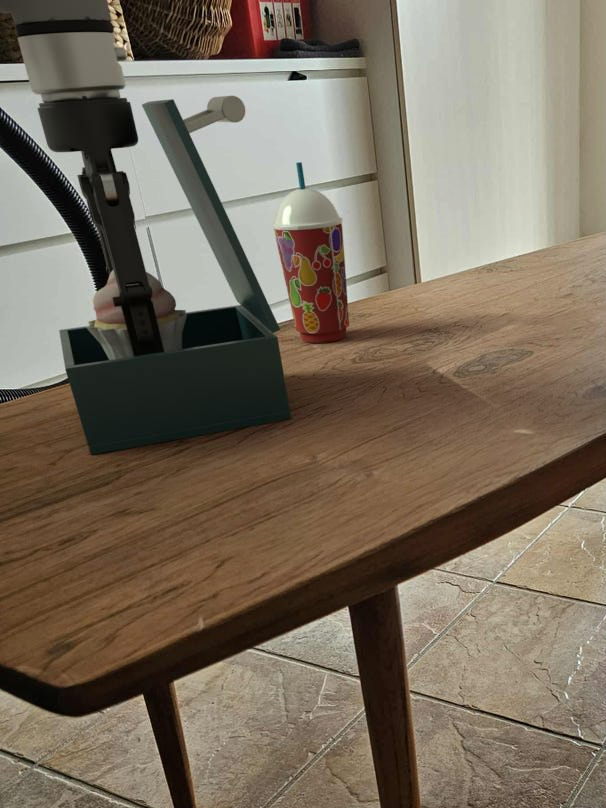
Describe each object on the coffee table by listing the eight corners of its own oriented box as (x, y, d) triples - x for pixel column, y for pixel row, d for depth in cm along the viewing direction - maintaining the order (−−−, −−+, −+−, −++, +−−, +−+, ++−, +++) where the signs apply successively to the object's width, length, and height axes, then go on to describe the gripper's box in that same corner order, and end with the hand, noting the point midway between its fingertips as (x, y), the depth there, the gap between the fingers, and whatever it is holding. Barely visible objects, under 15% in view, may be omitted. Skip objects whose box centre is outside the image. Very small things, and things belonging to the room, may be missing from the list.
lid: (164, 102, 71) (241, 70, 72) (141, 104, 85) (206, 77, 86) (272, 333, 83) (337, 302, 84) (237, 301, 97) (293, 275, 98)
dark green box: (90, 455, 81) (65, 368, 77) (81, 405, 95) (58, 329, 91) (291, 418, 87) (277, 336, 83) (254, 376, 101) (241, 304, 97)
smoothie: (369, 333, 116) (349, 158, 106) (328, 348, 110) (301, 165, 100) (320, 328, 120) (296, 159, 110) (278, 343, 114) (247, 166, 104)
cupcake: (151, 386, 83) (122, 270, 78) (79, 378, 87) (47, 267, 81) (218, 359, 90) (196, 252, 85) (149, 353, 94) (124, 250, 88)
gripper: (141, 91, 69) (205, 384, 80) (117, 95, 86) (173, 336, 98) (36, 97, 66) (117, 398, 78) (33, 101, 84) (101, 346, 95)
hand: (148, 363), depth 88 cm, fingers closed on cupcake, 9 cm apart
